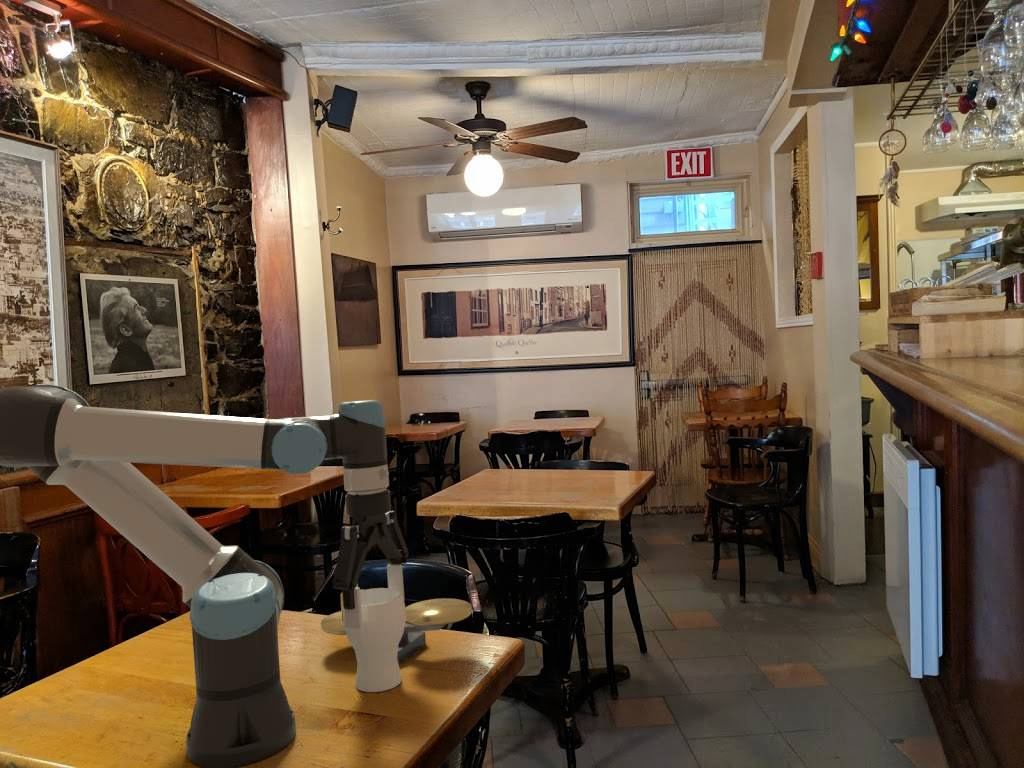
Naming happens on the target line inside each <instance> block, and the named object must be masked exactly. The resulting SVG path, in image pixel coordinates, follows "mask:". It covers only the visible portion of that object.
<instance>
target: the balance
mask: <svg viewBox="0 0 1024 768" xmlns="http://www.w3.org/2000/svg"><path fill="white" fill-rule="evenodd" d="M356 587H359V585H358V583H357V585H356ZM363 590H364V589H362V588H361V589H360V591H363ZM340 607H341V609H340V611H337V612H334V613H331V614H329V615H327V616H325V617H324V618H323V619H322V620H321V621H320V628H321V630H322V631H323V632H324V633H327V634H329V635H330V634H331V635H336V636H337V635H339V636H344V635H346V632H345V629H344V626H343V611H344V606H343V593H342V592H341V593H340ZM405 607H406V623H405V627H404V632H403V635H402V637H401V640H400V642H399V645H398V654H397V660H398V664H399V665H401V664H402V663H403V662H405V661H406V660H407V659H409V658H410V657H411V656H412V655H414V654H415V653H417V652H418V651H419V650H420V649H422V648H423V647H424V646H425V645H427V639H426V637H427V636H426V632H430V631H440V630H441V629H442V628H444V627H446V625H451V624H454V623H457V622H461V621H463V620H465V619H467V618H468V617H470V616H471V614H472V612H473V611H472V609H473V608H472V605H471V603H470V602H468V601H466V600H462V599H457V598H446V597H445V598H432V599H427V600H421V601H418V602H415V603H412V604H410V605H407V606H405ZM346 636H347V635H346ZM424 644H425V645H424ZM423 645H424V646H423ZM422 646H423V647H422ZM421 647H422V648H421ZM419 648H420V649H419ZM418 649H419V650H418ZM417 650H418V651H417ZM413 653H414V654H413Z"/></svg>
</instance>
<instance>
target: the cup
mask: <svg viewBox="0 0 1024 768" xmlns="http://www.w3.org/2000/svg"><path fill="white" fill-rule="evenodd" d="M360 599H361V613H362V626H363V627H362V628H360V629H358V628H346V622H345V609H344V611H343V626H344V629H345V632H346V637H347V640H348V641H349V643H350V645H351V647H352V648H353V650H354V653H355V658H356V663H357V667H356V677H355V678H356V679H355V687H356V689H357V690H359V691H362V692H366V693H377V692H384V691H388V690H391V689H393V688H396V687H397V686H398V685H400V684H401V682H402V674H401V673H402V672H401V669H400V664H398V660H397V654H398V645H399V642H400V640H401V637H402V635H403V632H404V627H405V623H406V607H407V606H406V604H405V599H404V600H403V597H402V594H401V592H400V591H398V590H396V589H390V588H388V587H386V588H384V587H377V588H369V589H363V591H360Z"/></svg>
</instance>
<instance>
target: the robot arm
mask: <svg viewBox="0 0 1024 768" xmlns="http://www.w3.org/2000/svg"><path fill="white" fill-rule="evenodd" d="M385 421H386V420H385V414H384V406H383V403H381V402H380V401H379V400H377V399H369V400H368V399H367V400H366V399H365V400H356V401H355V400H353V401H344V402H340V403H339V405H338V411H337V413H335V414H329V415H319V416H318V415H317V416H302V417H301V416H300V417H283V418H279V419H275V418H274V419H267V418H258V417H257V418H256V417H244V416H243V417H242V416H241V417H240V416H229V415H227V416H226V415H212V414H211V415H210V414H199V413H198V414H197V413H182V412H181V413H180V412H169V411H168V412H167V411H157V410H156V411H155V410H138V409H128V408H127V409H126V408H113V407H112V408H111V407H96V406H90V403H88V402H87V400H86V399H85V398H83V396H82V395H80V394H79V393H77V392H75V391H74V390H71V389H68V388H67V387H63V386H59V385H56V384H54V385H53V384H37V385H32V386H27V385H26V386H24V385H23V386H22V385H21V386H20V385H15V386H8V387H3V388H0V466H1V467H8V468H25V467H27V469H29V470H30V471H31V472H32V473H33V474H34V475H36V476H37V477H38V478H39V479H40V480H41V481H43V482H44V483H45V484H46V485H48V486H52V485H53V486H54V485H57V486H58V485H59V486H60V485H63V486H65V487H67V488H68V489H69V490H70V491H71V492H72V493H73V494H74V495H76V497H78V498H79V499H80V500H82V501H83V503H85V504H86V505H87V506H89V508H91V510H93V511H94V512H95V513H97V514H98V515H99V516H100V517H101V518H102V519H104V521H106V523H108V524H109V525H110V526H111V527H112V528H114V529H115V530H116V531H117V532H118V533H119V534H120V535H121V536H123V537H124V538H125V539H126V540H127V541H129V542H130V544H132V545H133V546H134V547H135V548H137V549H138V550H139V551H140V552H141V553H142V554H144V555H145V556H146V557H147V558H148V559H149V560H151V561H152V563H154V564H155V565H156V566H157V567H158V568H160V570H162V571H163V572H164V573H165V574H167V575H168V576H169V577H170V578H172V580H173V581H175V582H176V583H177V584H178V585H179V586H181V589H182V602H183V603H184V604H185V605H186V606H187V607H188V608H189V609H190V610H189V620H190V625H191V631H192V632H191V633H192V634H191V635H192V647H193V649H192V650H193V663H194V678H195V691H196V696H195V697H196V699H195V703H194V708H193V711H192V715H191V721H190V724H189V725H190V727H189V729H188V731H187V733H186V740H185V743H186V745H185V746H186V747H185V748H186V756H187V759H188V761H190V762H191V763H192V764H194V765H196V766H199V767H201V768H202V767H203V768H234V767H241V766H244V765H249V764H252V763H255V762H258V761H261V760H264V759H267V758H268V757H271V756H273V755H275V754H276V753H278V752H279V751H281V750H283V749H284V748H286V747H287V746H288V745H289V744H290V743H291V742H292V741H293V739H294V738H295V736H296V732H297V727H296V726H297V724H296V716H295V713H294V712H295V711H294V710H293V708H292V707H291V706H290V704H289V701H288V698H287V694H286V692H285V689H284V687H283V684H282V681H281V669H280V668H281V667H280V654H279V653H280V652H279V651H280V650H279V649H280V648H279V635H278V634H279V633H278V627H279V623H280V618H281V613H282V611H283V608H284V603H285V591H284V587H283V583H282V580H281V577H280V576H279V575H278V573H277V572H276V570H275V569H274V568H272V567H271V566H270V565H269V564H268V563H265V562H262V561H260V560H257V559H256V560H255V559H253V558H252V557H251V556H250V555H249V554H248V553H246V552H245V551H244V550H243V549H242V548H241V547H239V546H238V545H223V544H221V542H219V541H218V540H217V539H216V538H215V537H214V536H213V535H212V534H210V532H208V530H206V529H205V528H204V527H203V526H202V525H200V524H199V523H198V522H197V521H196V520H195V519H194V518H192V516H190V515H189V514H188V513H187V512H185V510H184V509H182V508H181V507H180V506H179V505H178V504H177V503H176V502H175V501H173V500H172V499H171V498H170V497H169V496H168V495H167V494H166V493H165V492H163V490H161V489H160V488H159V487H158V486H157V485H156V484H154V483H153V482H152V481H151V480H150V479H149V478H148V477H146V476H145V475H144V474H143V473H142V472H141V471H140V470H139V469H137V467H136V466H134V465H133V464H132V463H134V464H135V463H136V464H153V465H155V464H156V465H177V466H197V467H199V466H200V467H218V468H219V467H220V468H235V469H236V468H240V469H256V470H257V469H260V470H268V471H269V470H270V471H284V472H286V473H288V474H291V475H292V474H293V475H305V474H308V473H311V472H312V471H313V470H315V469H316V468H317V467H319V466H320V465H321V464H322V463H323V461H327V460H337V459H342V467H343V470H342V471H343V485H344V486H343V487H344V491H346V492H347V493H346V495H345V509H346V514H347V515H348V516H349V517H350V518H352V524H351V525H352V526H341V528H340V544H339V548H338V549H339V550H338V553H337V554H338V555H337V560H336V563H335V564H336V565H335V570H334V574H333V578H332V579H333V580H332V588H333V589H337V590H341V593H343V606H344V609H345V622H346V628H358V629H360V628H362V627H363V626H362V613H361V599H360V587H359V586H358V587H356V585H357V584H358V581H359V579H360V576H361V573H362V569H363V565H364V563H365V560H366V557H367V553H368V552H370V551H371V550H372V547H375V546H376V545H377V546H378V547H379V549H380V550H381V551H382V553H383V555H384V557H385V558H386V560H388V562H389V564H386V571H387V572H386V573H387V588H390V589H396V590H398V591H400V592H401V594H402V597H403V600H404V601H405V590H404V575H403V573H404V572H403V564H407V563H408V560H409V559H408V557H409V554H410V553H409V550H408V547H407V544H406V541H405V539H404V536H403V534H402V530H401V528H400V525H399V523H398V517H397V511H395V510H391V509H392V504H391V491H390V490H389V489H387V488H388V487H389V486H390V480H389V479H390V478H389V475H390V472H389V467H388V449H387V447H388V446H387V430H386V422H385Z"/></svg>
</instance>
